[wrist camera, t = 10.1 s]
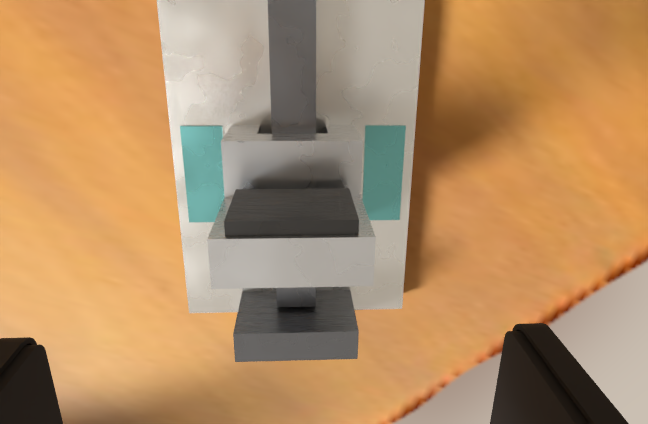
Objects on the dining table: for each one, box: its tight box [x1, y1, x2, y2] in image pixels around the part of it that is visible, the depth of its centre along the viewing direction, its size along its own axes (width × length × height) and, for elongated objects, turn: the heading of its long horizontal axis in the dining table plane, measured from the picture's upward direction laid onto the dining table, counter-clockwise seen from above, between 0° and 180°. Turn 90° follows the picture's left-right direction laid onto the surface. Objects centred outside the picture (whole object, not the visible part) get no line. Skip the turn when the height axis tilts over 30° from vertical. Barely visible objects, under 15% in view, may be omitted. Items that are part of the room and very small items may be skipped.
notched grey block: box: [207, 125, 376, 289], centre depth 21 cm, size 5×6×8 cm
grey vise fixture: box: [157, 0, 425, 362], centre depth 20 cm, size 29×12×10 cm, turn 179°
